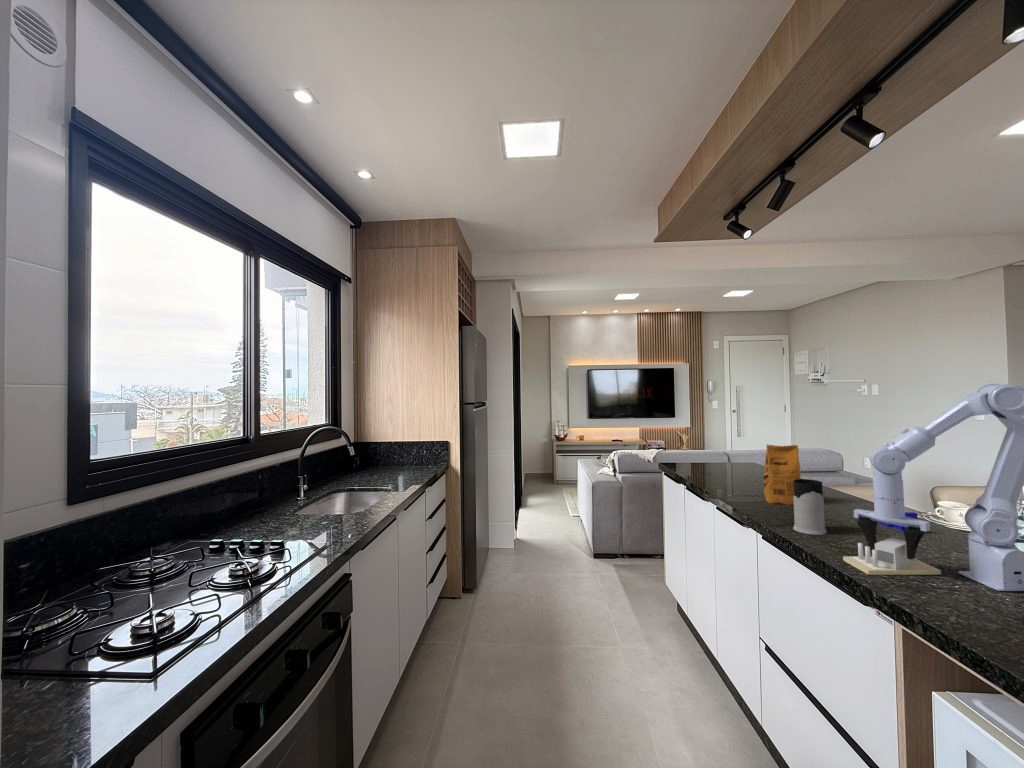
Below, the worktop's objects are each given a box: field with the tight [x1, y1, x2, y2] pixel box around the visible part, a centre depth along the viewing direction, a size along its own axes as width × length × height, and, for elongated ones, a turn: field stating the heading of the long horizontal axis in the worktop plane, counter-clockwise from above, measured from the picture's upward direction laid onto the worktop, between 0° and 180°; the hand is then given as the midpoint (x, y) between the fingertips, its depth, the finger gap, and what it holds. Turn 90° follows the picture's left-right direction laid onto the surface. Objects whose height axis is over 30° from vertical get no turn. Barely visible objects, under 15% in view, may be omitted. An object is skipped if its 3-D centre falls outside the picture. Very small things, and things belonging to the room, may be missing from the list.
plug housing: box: [874, 537, 911, 570], centre depth 111 cm, size 4×14×5 cm, turn 119°
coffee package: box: [762, 443, 801, 506], centre depth 173 cm, size 10×12×22 cm
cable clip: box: [877, 511, 919, 532], centre depth 140 cm, size 12×4×6 cm, turn 169°
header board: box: [842, 542, 942, 576], centre depth 110 cm, size 9×16×5 cm, turn 86°
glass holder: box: [792, 478, 828, 536], centre depth 142 cm, size 9×14×15 cm, turn 167°
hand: (891, 553), depth 110 cm, fingers open, 7 cm apart
